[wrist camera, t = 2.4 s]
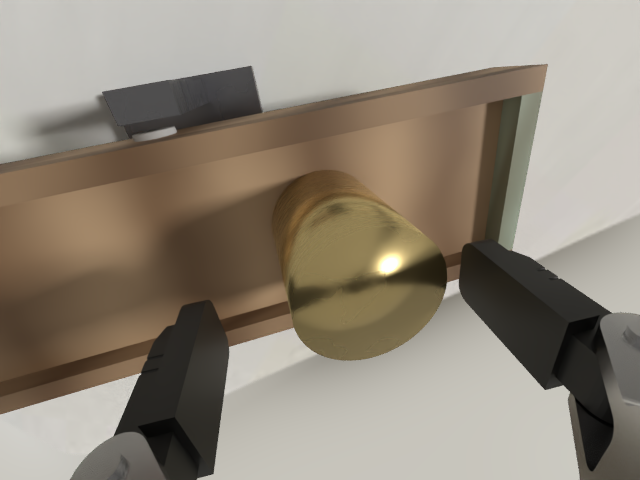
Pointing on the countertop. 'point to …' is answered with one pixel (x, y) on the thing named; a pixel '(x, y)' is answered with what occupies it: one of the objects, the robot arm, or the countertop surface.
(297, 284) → the cylinder
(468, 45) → the countertop surface
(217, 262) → the beam
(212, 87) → the pivot stand
